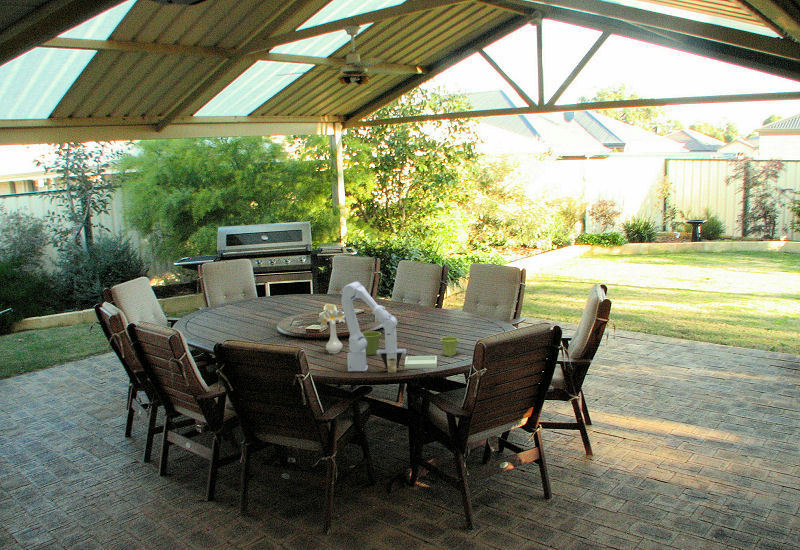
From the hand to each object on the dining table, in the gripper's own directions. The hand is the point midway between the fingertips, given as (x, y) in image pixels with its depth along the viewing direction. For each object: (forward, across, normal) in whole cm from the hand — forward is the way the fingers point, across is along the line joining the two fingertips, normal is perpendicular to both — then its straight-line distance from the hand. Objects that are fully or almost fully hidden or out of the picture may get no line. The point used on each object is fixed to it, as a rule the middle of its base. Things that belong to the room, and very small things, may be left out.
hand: (392, 368), depth 310 cm
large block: (+2, -2, +17) cm, 17 cm away
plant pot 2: (+2, +29, +27) cm, 40 cm away
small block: (+2, 0, 0) cm, 2 cm away
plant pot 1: (+2, -14, +33) cm, 36 cm away
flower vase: (+2, -35, +37) cm, 51 cm away
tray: (+2, +14, +10) cm, 17 cm away
